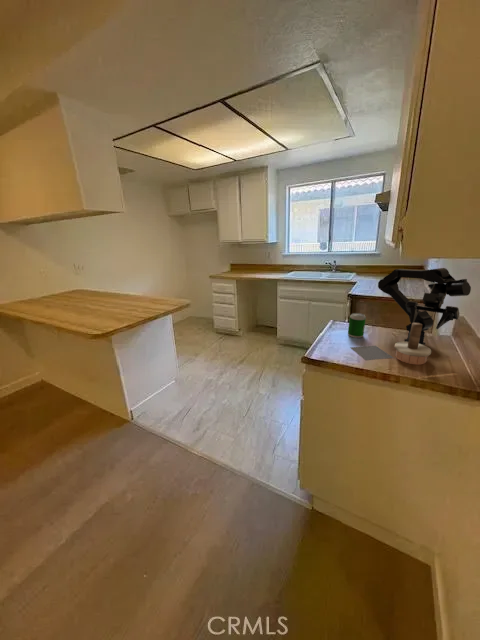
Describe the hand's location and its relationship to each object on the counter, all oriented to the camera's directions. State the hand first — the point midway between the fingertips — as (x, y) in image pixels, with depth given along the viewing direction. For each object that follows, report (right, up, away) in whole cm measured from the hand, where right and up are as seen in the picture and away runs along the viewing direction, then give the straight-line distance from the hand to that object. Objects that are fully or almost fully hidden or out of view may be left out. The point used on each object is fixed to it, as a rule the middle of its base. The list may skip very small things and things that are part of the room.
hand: (424, 326), depth 113 cm
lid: (-5, -10, -1) cm, 11 cm away
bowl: (-5, -14, +1) cm, 15 cm away
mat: (-19, -13, +7) cm, 24 cm away
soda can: (-18, -6, +26) cm, 32 cm away
